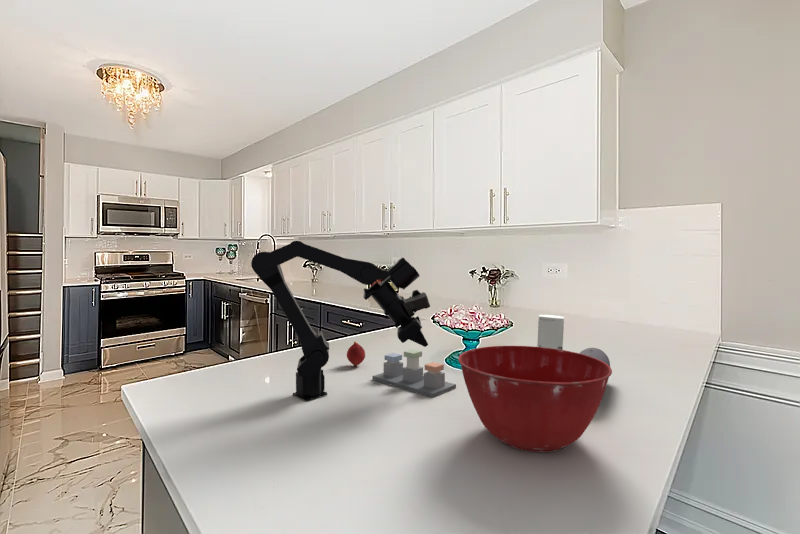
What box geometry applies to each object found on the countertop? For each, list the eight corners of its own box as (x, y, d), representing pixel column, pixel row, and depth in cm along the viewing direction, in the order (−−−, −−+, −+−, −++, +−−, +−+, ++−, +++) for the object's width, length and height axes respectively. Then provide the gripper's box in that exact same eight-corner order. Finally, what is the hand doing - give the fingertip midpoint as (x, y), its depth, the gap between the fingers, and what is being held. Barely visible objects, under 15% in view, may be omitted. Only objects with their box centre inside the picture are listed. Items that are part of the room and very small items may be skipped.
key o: (393, 374, 119) (393, 357, 119) (384, 371, 122) (384, 355, 122) (402, 371, 122) (402, 354, 122) (393, 368, 125) (393, 352, 124)
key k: (435, 385, 109) (435, 367, 109) (424, 382, 112) (424, 364, 112) (443, 382, 112) (443, 364, 112) (433, 379, 114) (433, 362, 114)
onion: (366, 363, 137) (366, 339, 137) (363, 368, 132) (363, 343, 131) (349, 363, 138) (348, 339, 138) (345, 368, 132) (344, 343, 132)
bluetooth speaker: (575, 377, 122) (576, 343, 122) (611, 383, 118) (612, 347, 117) (561, 402, 103) (561, 361, 102) (603, 409, 98) (604, 367, 98)
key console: (432, 397, 106) (432, 379, 106) (372, 379, 121) (372, 363, 121) (456, 388, 113) (456, 371, 113) (396, 372, 128) (396, 357, 128)
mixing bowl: (497, 400, 104) (497, 338, 103) (626, 432, 86) (627, 357, 85) (430, 441, 82) (430, 362, 81) (585, 494, 64) (586, 394, 63)
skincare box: (536, 360, 141) (537, 316, 141) (537, 356, 147) (537, 313, 146) (563, 362, 138) (564, 317, 138) (563, 358, 144) (563, 315, 144)
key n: (413, 371, 114) (413, 353, 114) (403, 368, 117) (403, 351, 117) (422, 368, 117) (422, 351, 117) (412, 366, 119) (412, 349, 119)
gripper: (417, 289, 101) (456, 338, 103) (411, 276, 119) (445, 317, 121) (381, 318, 101) (421, 365, 104) (380, 300, 120) (414, 341, 122)
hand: (426, 345), depth 113 cm, fingers closed
